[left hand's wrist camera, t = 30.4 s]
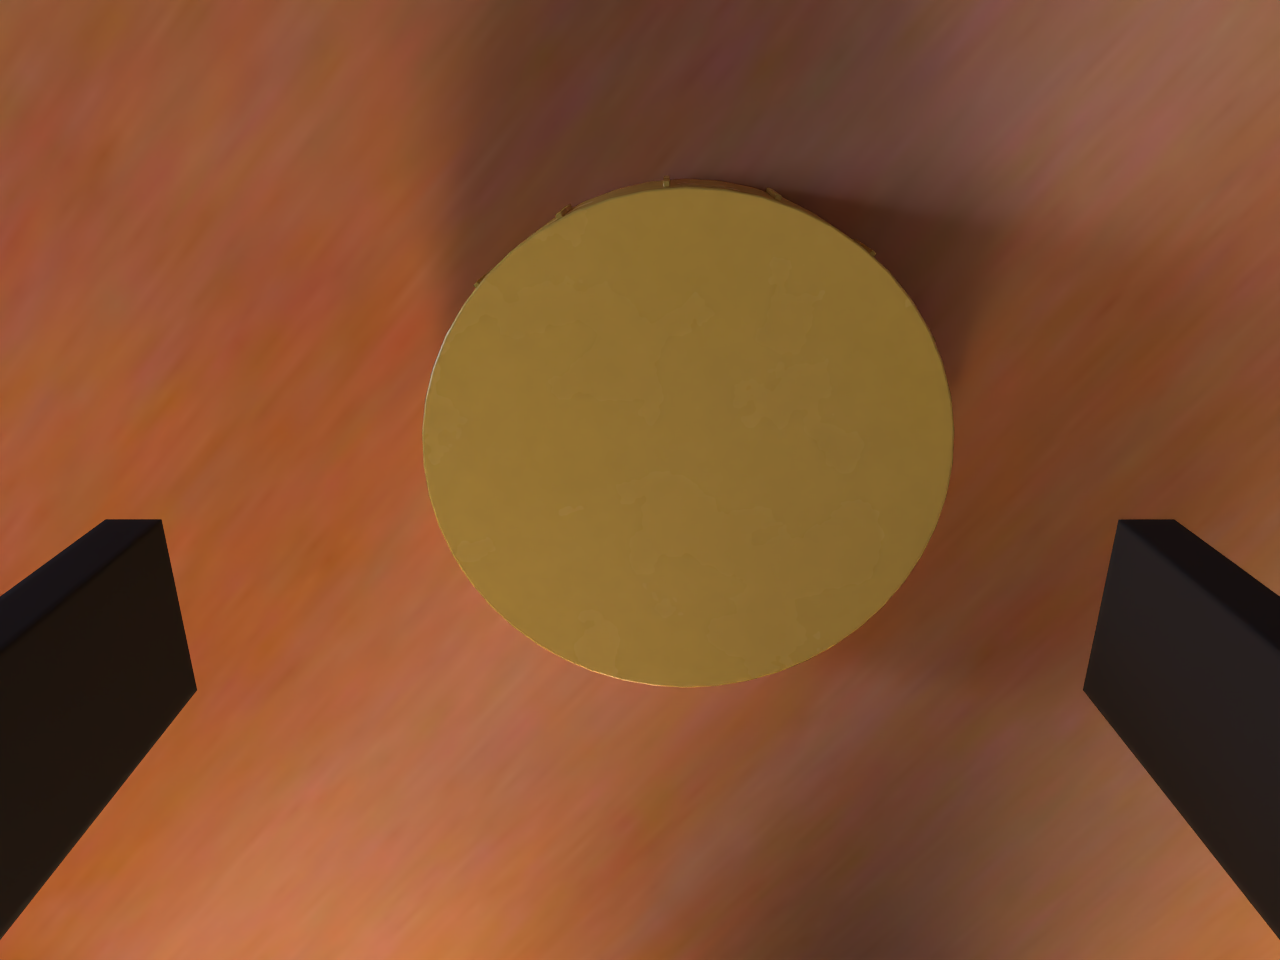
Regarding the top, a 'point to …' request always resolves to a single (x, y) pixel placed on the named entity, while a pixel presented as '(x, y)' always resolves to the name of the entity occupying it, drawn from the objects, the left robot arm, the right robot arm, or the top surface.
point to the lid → (688, 434)
